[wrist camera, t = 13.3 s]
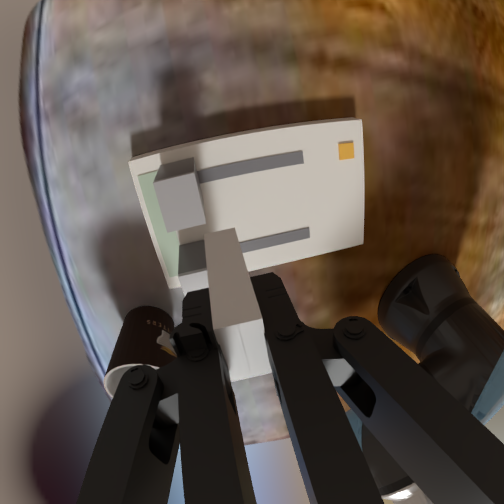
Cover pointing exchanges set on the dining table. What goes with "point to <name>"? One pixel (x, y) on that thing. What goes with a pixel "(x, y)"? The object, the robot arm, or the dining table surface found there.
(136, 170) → the panel
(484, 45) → the dining table surface
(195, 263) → the block
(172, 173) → the block
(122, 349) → the coffee mug
